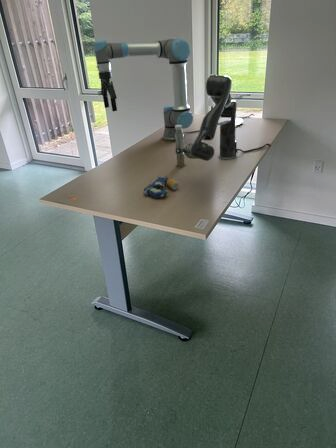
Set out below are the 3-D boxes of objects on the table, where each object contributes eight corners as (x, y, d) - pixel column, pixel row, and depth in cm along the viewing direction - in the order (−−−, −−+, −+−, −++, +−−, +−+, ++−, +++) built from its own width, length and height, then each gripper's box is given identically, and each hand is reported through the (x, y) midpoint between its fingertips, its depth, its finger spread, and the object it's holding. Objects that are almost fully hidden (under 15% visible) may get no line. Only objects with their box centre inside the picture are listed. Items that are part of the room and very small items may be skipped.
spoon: (236, 135, 246) (236, 133, 245) (221, 135, 249) (221, 132, 248) (244, 120, 272) (244, 117, 271) (231, 120, 276) (231, 117, 274)
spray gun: (184, 183, 177) (159, 180, 184) (183, 176, 175) (158, 173, 182) (167, 201, 162) (140, 197, 168) (166, 193, 160) (139, 190, 166)
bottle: (183, 163, 202) (181, 125, 190) (185, 166, 199) (183, 126, 187) (176, 164, 202) (173, 126, 190) (178, 167, 198) (175, 127, 186)
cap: (181, 127, 191) (181, 124, 190) (183, 128, 187) (182, 126, 187) (174, 128, 190) (174, 125, 189) (175, 129, 187) (175, 127, 186)
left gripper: (91, 70, 201) (98, 107, 212) (105, 73, 182) (112, 113, 193) (103, 69, 204) (109, 105, 215) (118, 72, 185) (124, 111, 196)
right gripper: (208, 143, 163) (200, 144, 179) (179, 142, 161) (173, 143, 177) (207, 159, 165) (199, 158, 181) (179, 158, 163) (173, 158, 178)
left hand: (110, 109), depth 204 cm, fingers open, 13 cm apart
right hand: (186, 151), depth 179 cm, fingers open, 8 cm apart
